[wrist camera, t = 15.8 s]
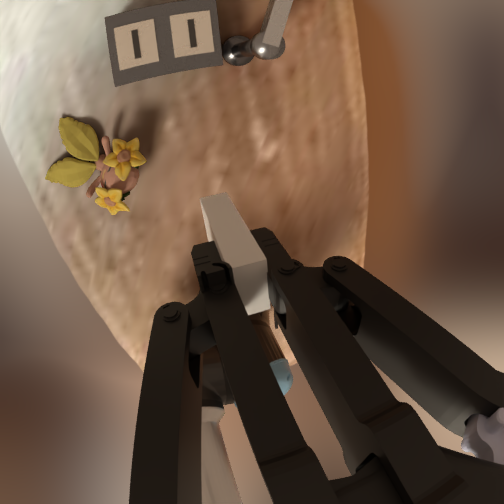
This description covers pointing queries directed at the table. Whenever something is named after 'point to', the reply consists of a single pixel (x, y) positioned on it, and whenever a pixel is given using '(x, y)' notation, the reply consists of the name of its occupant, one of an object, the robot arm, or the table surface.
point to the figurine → (97, 164)
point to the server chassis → (163, 40)
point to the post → (237, 51)
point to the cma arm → (272, 31)
